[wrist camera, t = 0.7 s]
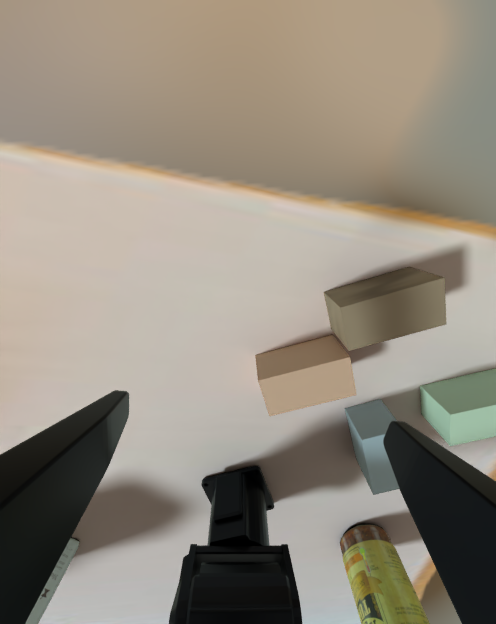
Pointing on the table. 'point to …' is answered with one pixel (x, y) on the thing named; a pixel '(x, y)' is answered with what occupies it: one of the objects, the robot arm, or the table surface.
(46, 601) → the skincare box
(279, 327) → the table surface
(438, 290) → the walnut brick
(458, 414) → the sage brick
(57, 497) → the robot arm
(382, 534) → the sauce bottle
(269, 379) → the tan brick
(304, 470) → the table surface
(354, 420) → the slate brick
